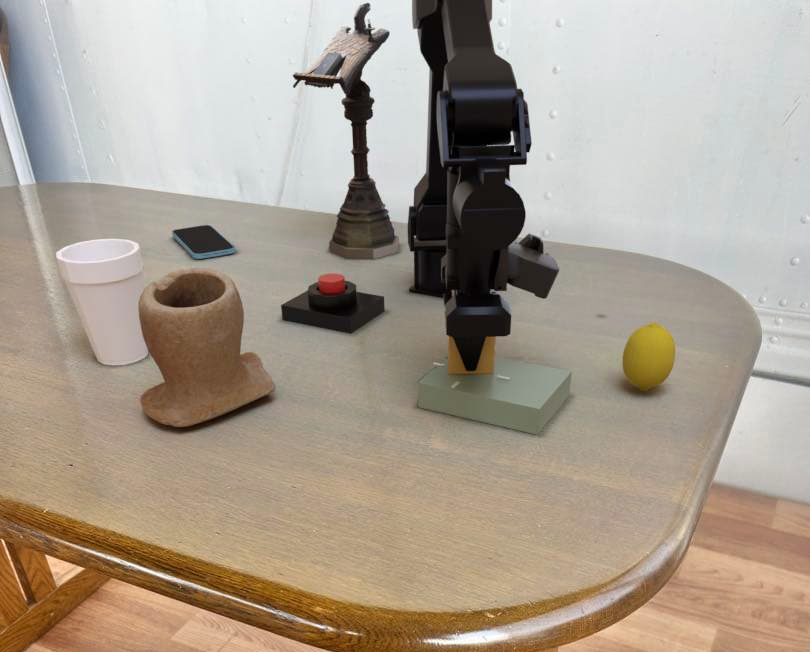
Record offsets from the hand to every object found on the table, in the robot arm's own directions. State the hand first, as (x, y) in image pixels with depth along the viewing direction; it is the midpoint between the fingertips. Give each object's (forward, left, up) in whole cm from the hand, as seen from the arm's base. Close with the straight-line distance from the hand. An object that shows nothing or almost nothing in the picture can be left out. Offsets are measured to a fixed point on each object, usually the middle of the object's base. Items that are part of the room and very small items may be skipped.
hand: (470, 367), depth 89 cm
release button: (-27, +14, 0) cm, 30 cm away
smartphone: (-65, +32, -4) cm, 72 cm away
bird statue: (-39, +40, -4) cm, 56 cm away
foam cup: (-44, -9, -4) cm, 45 cm away
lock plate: (+3, 0, -4) cm, 5 cm away
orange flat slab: (0, 0, 0) cm, 0 cm away
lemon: (+17, +10, -4) cm, 20 cm away
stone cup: (-24, -15, -4) cm, 29 cm away
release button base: (-27, +14, -4) cm, 31 cm away
